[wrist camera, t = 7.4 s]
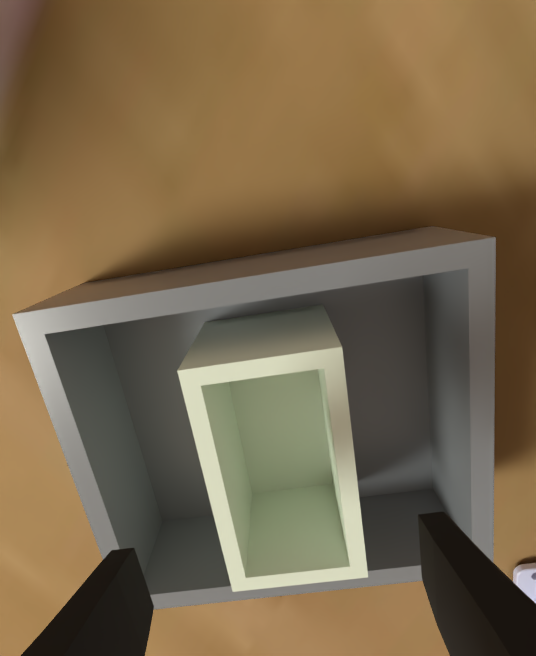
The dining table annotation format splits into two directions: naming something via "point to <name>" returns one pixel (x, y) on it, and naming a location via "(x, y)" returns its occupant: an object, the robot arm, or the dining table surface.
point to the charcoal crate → (361, 380)
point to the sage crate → (276, 447)
